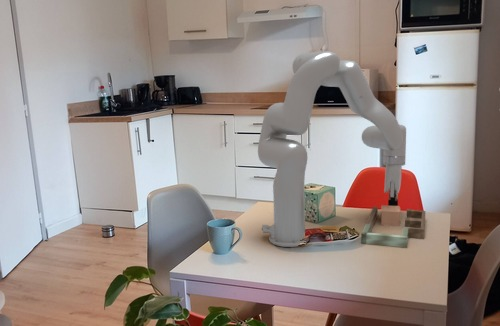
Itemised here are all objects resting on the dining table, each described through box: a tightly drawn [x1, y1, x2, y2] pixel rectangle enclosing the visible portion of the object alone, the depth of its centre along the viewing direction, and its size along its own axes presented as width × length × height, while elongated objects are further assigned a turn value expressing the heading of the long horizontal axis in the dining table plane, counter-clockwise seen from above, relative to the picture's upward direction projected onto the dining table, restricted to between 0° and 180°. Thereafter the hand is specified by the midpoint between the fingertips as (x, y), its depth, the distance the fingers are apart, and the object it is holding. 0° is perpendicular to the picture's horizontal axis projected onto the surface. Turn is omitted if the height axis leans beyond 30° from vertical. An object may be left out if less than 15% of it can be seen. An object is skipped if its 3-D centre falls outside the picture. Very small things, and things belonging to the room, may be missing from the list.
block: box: [380, 204, 401, 227], centre depth 165 cm, size 6×7×5 cm
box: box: [360, 206, 426, 248], centre depth 157 cm, size 18×30×3 cm, turn 159°
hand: (392, 210), depth 174 cm, fingers closed
